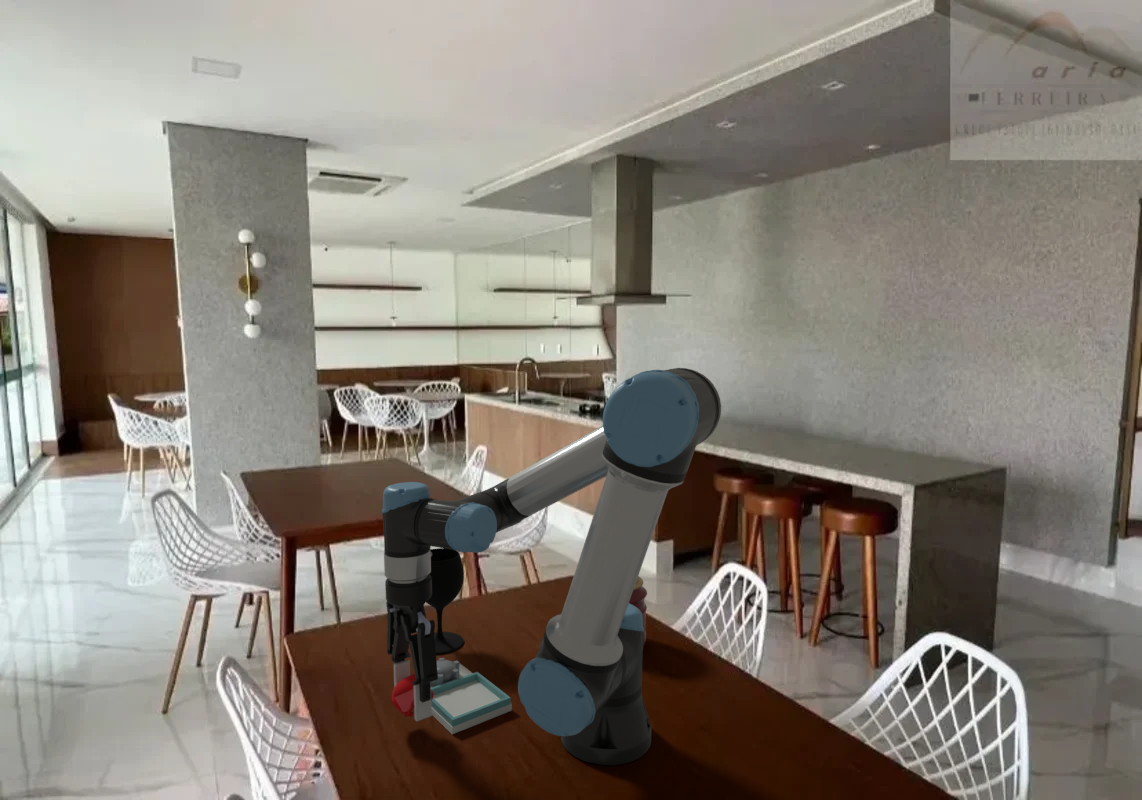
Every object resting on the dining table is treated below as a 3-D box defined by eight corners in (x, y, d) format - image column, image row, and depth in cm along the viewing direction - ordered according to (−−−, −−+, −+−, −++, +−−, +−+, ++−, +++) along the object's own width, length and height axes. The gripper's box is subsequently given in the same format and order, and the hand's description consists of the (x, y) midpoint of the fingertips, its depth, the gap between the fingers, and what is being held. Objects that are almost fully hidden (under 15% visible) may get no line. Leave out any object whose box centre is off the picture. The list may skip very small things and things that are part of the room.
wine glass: (406, 642, 147) (405, 553, 145) (447, 629, 154) (446, 544, 152) (431, 659, 139) (430, 566, 138) (473, 644, 146) (472, 555, 145)
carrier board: (511, 710, 121) (511, 690, 121) (452, 734, 114) (452, 713, 113) (459, 668, 136) (459, 651, 135) (404, 687, 128) (403, 669, 128)
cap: (446, 686, 115) (426, 660, 118) (425, 691, 110) (405, 663, 113) (419, 722, 115) (399, 696, 118) (396, 728, 110) (377, 700, 113)
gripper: (457, 587, 107) (461, 725, 109) (403, 556, 122) (408, 678, 124) (413, 599, 102) (418, 743, 104) (363, 565, 118) (368, 691, 120)
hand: (412, 707), depth 114 cm, fingers closed on cap, 7 cm apart
